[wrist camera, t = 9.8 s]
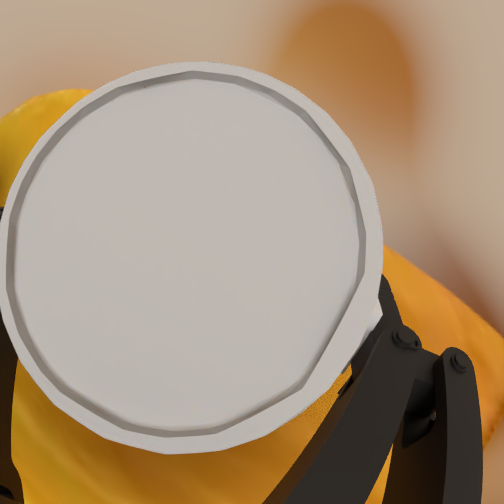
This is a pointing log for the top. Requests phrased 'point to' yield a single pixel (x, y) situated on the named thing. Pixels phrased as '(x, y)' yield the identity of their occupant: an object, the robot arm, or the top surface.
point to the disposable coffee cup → (189, 257)
